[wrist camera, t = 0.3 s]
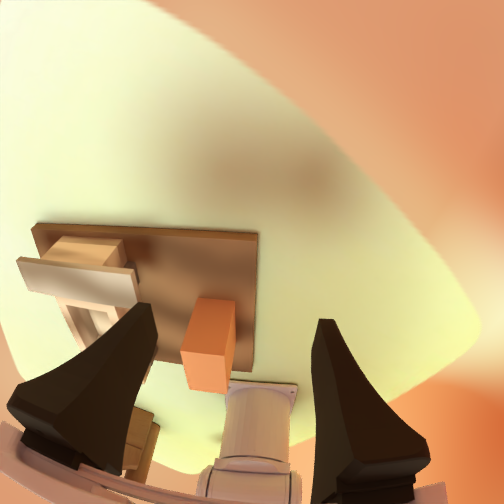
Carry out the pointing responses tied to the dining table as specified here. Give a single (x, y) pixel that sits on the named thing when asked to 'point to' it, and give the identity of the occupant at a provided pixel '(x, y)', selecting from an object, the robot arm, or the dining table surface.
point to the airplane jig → (144, 280)
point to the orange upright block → (210, 345)
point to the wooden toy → (139, 445)
